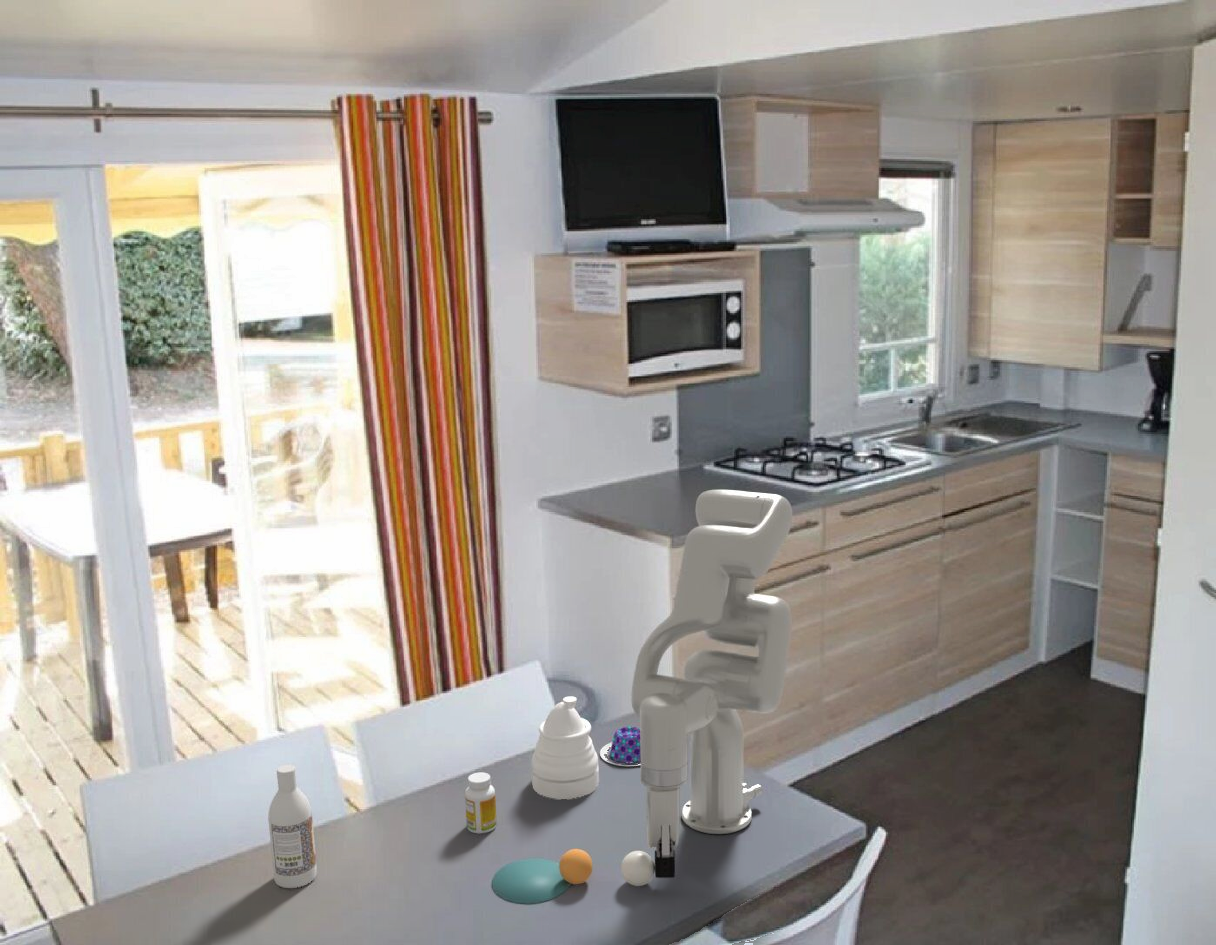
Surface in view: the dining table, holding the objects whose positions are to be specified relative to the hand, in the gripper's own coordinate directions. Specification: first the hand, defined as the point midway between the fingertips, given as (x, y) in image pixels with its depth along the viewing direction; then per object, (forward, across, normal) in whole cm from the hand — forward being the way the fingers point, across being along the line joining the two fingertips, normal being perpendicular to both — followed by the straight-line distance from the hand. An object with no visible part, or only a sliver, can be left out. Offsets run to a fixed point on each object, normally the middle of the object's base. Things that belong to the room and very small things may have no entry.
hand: (664, 874), depth 193 cm
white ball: (-1, 0, -4) cm, 5 cm away
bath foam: (+2, -4, -62) cm, 62 cm away
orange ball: (-1, -1, -15) cm, 15 cm away
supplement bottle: (+2, -20, -32) cm, 38 cm away
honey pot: (+2, -36, -18) cm, 40 cm away
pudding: (+2, -47, -5) cm, 48 cm away
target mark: (+2, -2, -22) cm, 22 cm away
